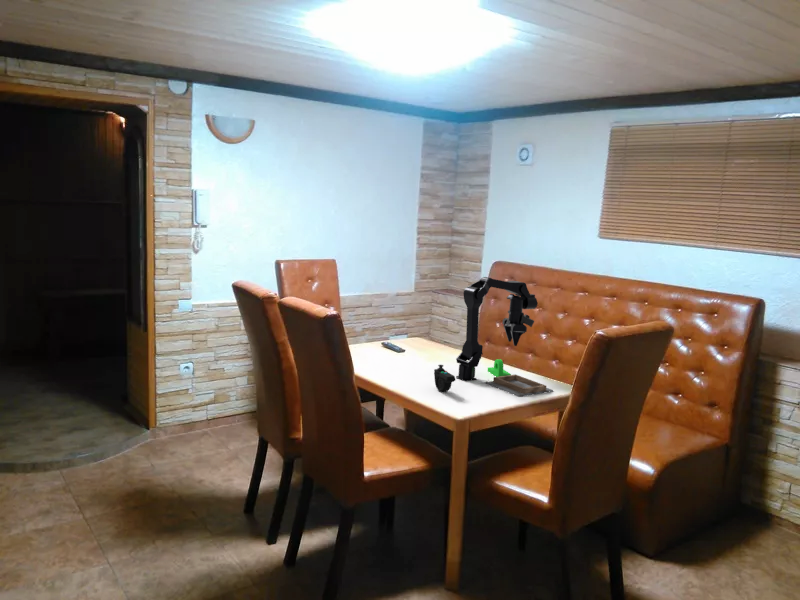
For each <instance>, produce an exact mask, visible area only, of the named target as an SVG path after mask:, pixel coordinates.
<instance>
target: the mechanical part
mask: <svg viewBox="0 0 800 600" xmlns="http://www.w3.org/2000/svg"><path fill="white" fill-rule="evenodd" d="M487 372H488V373H489V372H490V374H491V375H492V374H493V375H492V376H493V377H495V376H496V377H499V376H507V375H512V373H509V372H508V371H507V370H505V369H504V362H503V360H502V359H501V358H498V359H495V360H494V363H493V367H492V366H491V367H487Z"/></svg>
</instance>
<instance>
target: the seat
mask: <svg viewBox="0 0 800 600" xmlns="http://www.w3.org/2000/svg"><path fill="white" fill-rule="evenodd" d="M485 384H486V385H488V384H489V386H491V387H493V386H494V388H495V389H498V388H499V390H501V391H503V390H504V391H503V392H506V393H508V392H509V394H511V395H513V394H514V396H516V397H518V398H520V397H526V396H527V395H528V396H533V395H532V394H534V395H538V394H537V393H541V394H545V393H544V392H547V393H550V392H549V391H553V392H554V389H551V388H548V386H547V385H546V384H542V383H540V382H538V381H534V380H532V379H529V378H527V377H523V376H522V375H521V376H520V375H518V374H511V375H507V376H499V377H495V376H493V381H492V380H491V381H486V382H485Z"/></svg>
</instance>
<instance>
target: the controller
mask: <svg viewBox="0 0 800 600" xmlns="http://www.w3.org/2000/svg"><path fill="white" fill-rule="evenodd" d="M433 370H434V371H433V372H434V373H433V375H434V376H433V377H434V384H435V387H436V390H437V391H439V392H442V393H444V392H445V393H446V392H448V391H450V389H451V387H452V383H454V382H455V381H456V376H455V375H453V374H451V373H450V372H448V370H445V369H444V364H438V367H437V368H434V369H433Z"/></svg>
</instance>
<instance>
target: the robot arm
mask: <svg viewBox="0 0 800 600" xmlns="http://www.w3.org/2000/svg"><path fill="white" fill-rule="evenodd" d="M491 288H494V289H499V290H505V291H506V292H508V293H509V295H508V296H507V297H506V299H507V300H510V301H509V309H508V310H507V313H508V318H507V317H505V318H503V319H502V325H503V326H502V327H503V329H504V331H505V335H506V338H507V341H508V342H509V343H510V342H512V344H513V346H514V347H517V346H518V344H519V341H520V338H521V336H522V335H523V334H526V333H527V330H528V327H530V328H532V327H533V325H534V323H535V320H533V319H531V318H530V315H528V314H527V313H526V314H525V313H524V312H523V310H536V308H537V307H538V305H539V304H538V300H537V298H536V295H535V294H534V293H530V291H529V289H528V287H527V283H526V282H524V281H517V280H508V281H505V280H501V279H495V278H492V277H488V276H483V277H481V278H480V279H479V280H477V281H475V282H473V283H471V284H470V285H469V286H467V287H465V288H464V290H463V301H464V304H465V305H466V306H465V307H466V309H467V310H466V336H465V341H464V343H463V345H462V349H461V352H460V353H459V355H458V356H457V357H456V358H455V360H456V363H457V364H458V365H459V366H458V374H457V375H456V376H455V379H456V378H457V379H459V380H461V381H464V382H467V381H469V382H470V381H475V380H477V378H476V367H478V366H479V363H480V361H481V359H482V355H483V354H484V353H483V349H484V347H483V345H482V344H480V343H479V340H478V339H479V320H480V319H479V316H480V315H479V313H480V307H481V306H482V305H483V300H484V297H485V296H486V295H488V293H489V291H490V289H491ZM527 326H528V327H527Z"/></svg>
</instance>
